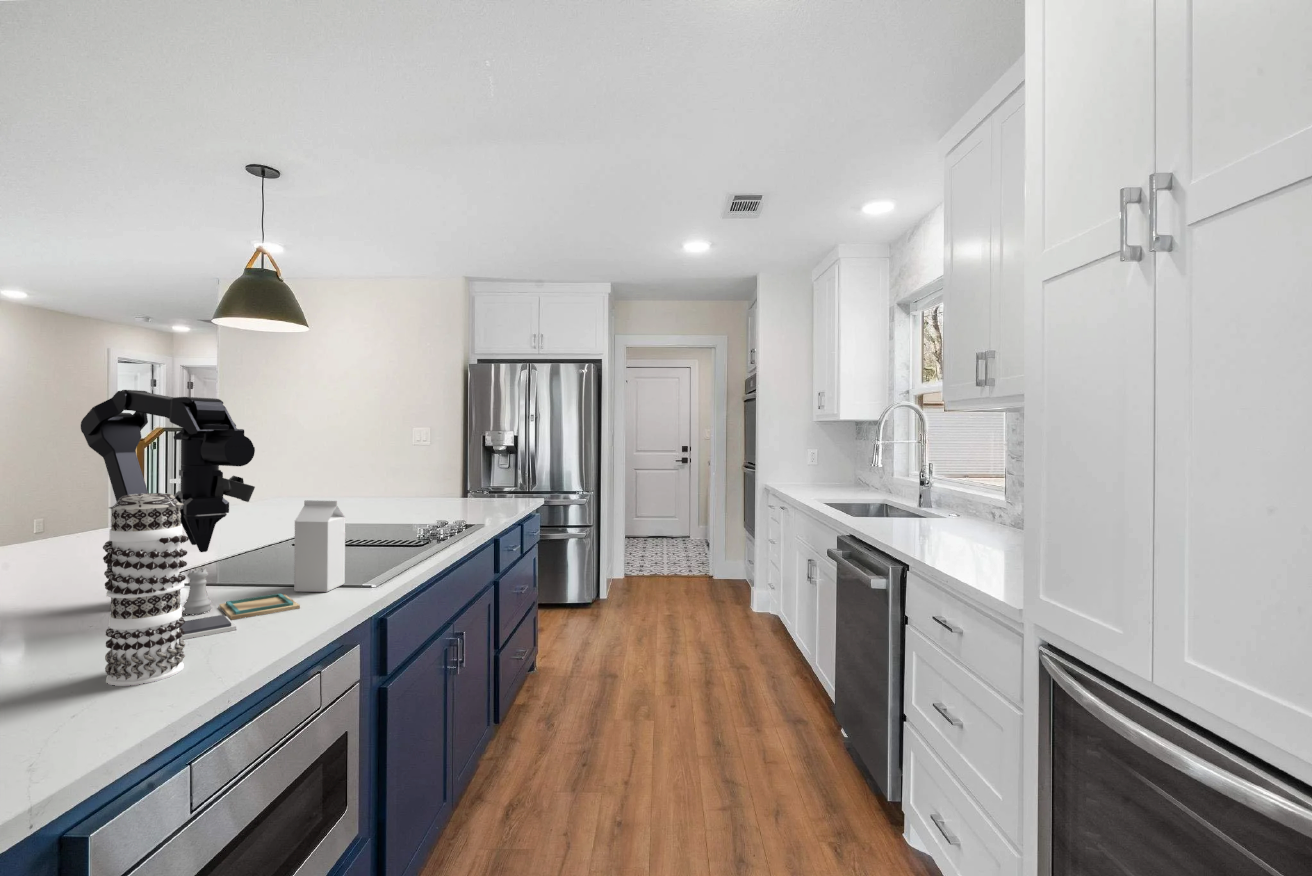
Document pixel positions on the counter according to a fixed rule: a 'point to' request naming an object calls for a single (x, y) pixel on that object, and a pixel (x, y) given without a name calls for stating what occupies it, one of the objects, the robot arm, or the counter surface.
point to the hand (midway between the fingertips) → (199, 548)
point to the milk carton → (319, 547)
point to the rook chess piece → (197, 593)
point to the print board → (258, 606)
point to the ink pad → (207, 626)
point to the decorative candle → (144, 589)
